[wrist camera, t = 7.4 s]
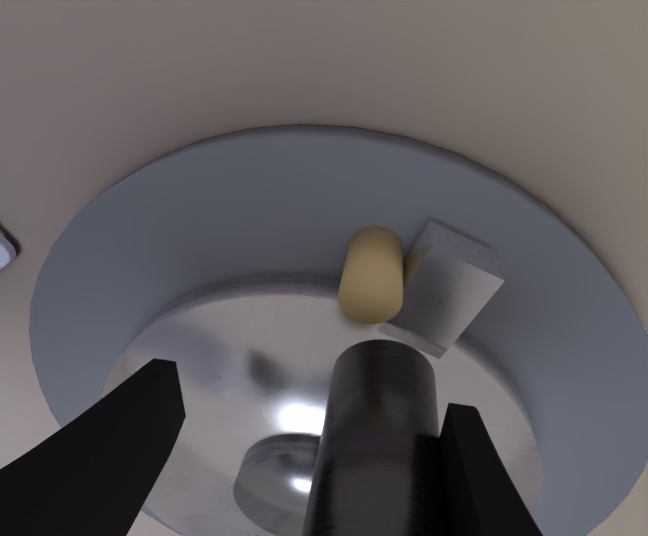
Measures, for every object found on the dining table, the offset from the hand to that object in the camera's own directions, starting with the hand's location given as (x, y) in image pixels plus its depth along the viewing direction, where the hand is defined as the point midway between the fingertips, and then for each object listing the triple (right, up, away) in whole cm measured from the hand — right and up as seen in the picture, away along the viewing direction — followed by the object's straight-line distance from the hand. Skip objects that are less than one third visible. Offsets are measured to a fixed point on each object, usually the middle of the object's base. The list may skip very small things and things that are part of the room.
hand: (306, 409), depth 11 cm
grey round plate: (0, -3, +8) cm, 8 cm away
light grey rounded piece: (+1, -3, +6) cm, 6 cm away
